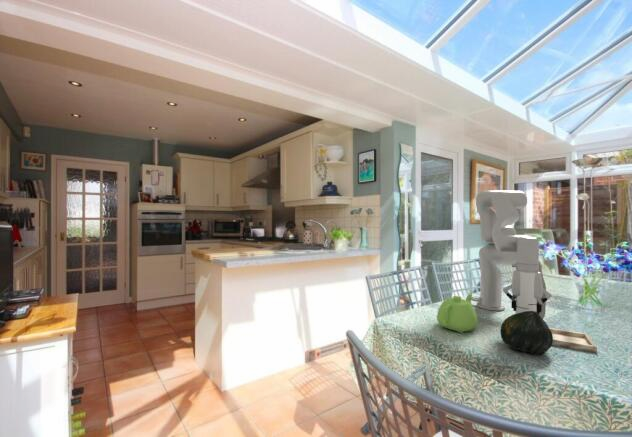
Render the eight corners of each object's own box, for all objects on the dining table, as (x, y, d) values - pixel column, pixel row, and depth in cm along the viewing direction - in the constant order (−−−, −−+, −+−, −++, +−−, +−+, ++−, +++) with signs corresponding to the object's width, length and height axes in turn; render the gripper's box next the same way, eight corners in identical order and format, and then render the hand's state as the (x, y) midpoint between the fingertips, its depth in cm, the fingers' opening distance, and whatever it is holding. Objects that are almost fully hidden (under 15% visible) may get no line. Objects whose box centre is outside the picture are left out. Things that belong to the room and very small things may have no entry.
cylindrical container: (540, 337, 120) (541, 273, 119) (519, 336, 121) (521, 272, 121) (531, 330, 127) (532, 270, 126) (512, 329, 128) (513, 269, 128)
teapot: (455, 317, 143) (455, 289, 142) (489, 327, 130) (489, 296, 130) (427, 327, 130) (427, 296, 129) (461, 339, 117) (462, 304, 117)
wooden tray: (546, 343, 114) (546, 338, 114) (542, 331, 126) (542, 326, 126) (597, 352, 107) (597, 347, 107) (587, 339, 119) (587, 333, 119)
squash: (490, 323, 119) (505, 301, 109) (532, 326, 118) (551, 305, 108) (503, 360, 109) (520, 340, 99) (548, 364, 107) (571, 344, 97)
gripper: (501, 266, 125) (500, 310, 125) (555, 271, 116) (554, 318, 116) (501, 264, 131) (500, 306, 131) (552, 268, 122) (551, 313, 122)
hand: (526, 311), depth 124 cm, fingers closed on cylindrical container, 7 cm apart
